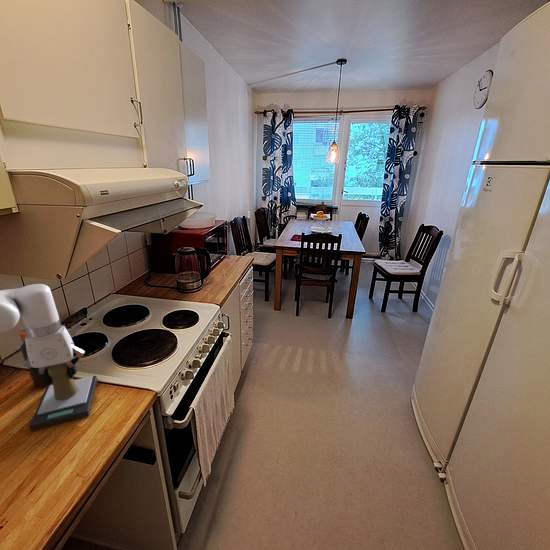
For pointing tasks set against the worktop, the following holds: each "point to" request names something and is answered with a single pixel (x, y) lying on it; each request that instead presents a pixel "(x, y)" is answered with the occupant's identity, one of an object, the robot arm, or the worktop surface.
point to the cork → (62, 381)
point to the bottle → (34, 374)
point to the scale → (64, 405)
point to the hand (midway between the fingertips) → (61, 377)
